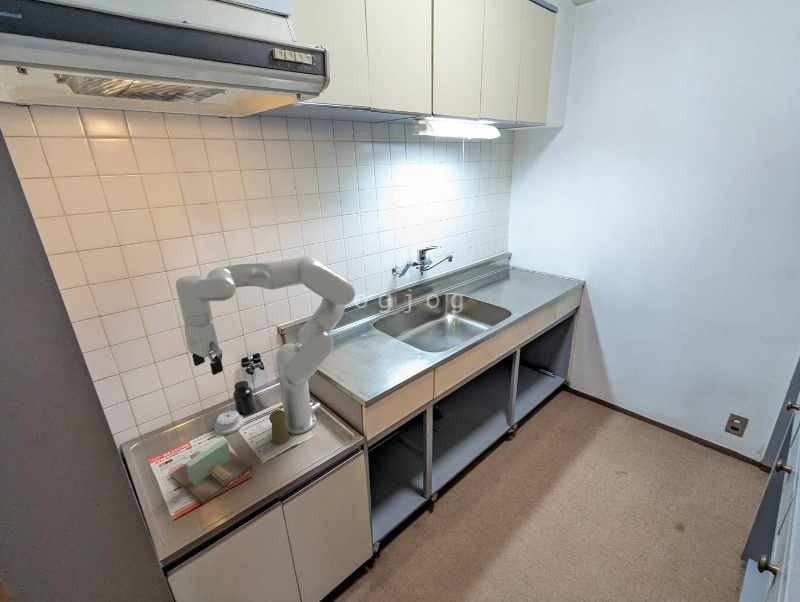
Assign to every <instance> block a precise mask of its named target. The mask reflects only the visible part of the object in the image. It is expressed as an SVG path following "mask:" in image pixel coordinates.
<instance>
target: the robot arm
mask: <svg viewBox="0 0 800 602" xmlns="http://www.w3.org/2000/svg"><path fill="white" fill-rule="evenodd" d="M298 285H304V286H305V287H306V288H308V289H309V290H311V291H312V292H313V293H315V294H317V295H318V296H320V297H321V299H322V300H321V303H320V305H319V306H318V307H317V309H316V310H315V311H314V313H313V314H312V315H311V317H310V318H308V320H307V321H306V322H305V323H304V324H303V325H302V327H300V328H299V330H298V334H297V338H298V340H299V342H300V344H301V345H302V346H299V344H296V343H292V342H291V343H290V342H289V343H285V344H283V345H281V346H280V347H279V348H278V350H277V352H276V353H275V365H276V369H277V370H276V371H277V373H278V379H279V380H278V381H279V385H280V395H281V400H282V401H281V402H282V408H283V409H282V411H283V412H284V413H285V420H284V421H285V424H286V427H287V430H288V433H289V435H298V434H303V433H306V432H308V431H309V430H311V429H312V428H314V426H315V425H316V423H317V416H316V414H315V411H316V410H318V409H319V408H320V407H321V406H322V405H321V403H319V402H316V403H315V404H314V403H313V402H311V396H310V388H309V379H311V377H312V376H313V375H314V374H315V373H316V372H317V370H318V369H320V367H321V366H322V365H323V364H324V363H325V361H326V360H327V359H328V357H330V354H331V353H332V351H333V348H334V339H333V337H332V334H331V332H332V331H333V330H334V328H335V327H336V326H337V324H338V323H339V322H340V320H341V319H342V317H343V316H344V315H343V314H344V313H345V308H346V306H348V305H350V304H351V303H352V302H353V301H354V299H355V295H356V292H355V291H356V290H355V287H354V286H353V284H351V283H350V282H349V281H348V280H346V279H345V278H344V277H342V276H341V275H339V274H338V273H335V272H333V271H332V270H330V269H329V268H328V267H327V266H325V265H324V264H323V263H321V262H320V261H318V260H317V259H315V258H314V257H312V256H301V257H296V258H295V257H294V258H291V259H284V260H278V261H271V262H258V263H256V262H255V263H238V264H233V265H227V266H221V267H217V268H214V269H212V270H210V271H209V272H208V274H207V276H206V278H204V277H203V276H200V275H188V276H186V275H185V276H183V277H180V278H177V280H176V281H175V289H176V294H177V297H178V302H179V307H180V309H181V315H182V319H183V323H184V335H185V341H186V347H187V350H188V352H190V353H191V354H192V355H191V356H192V361H193V365H194V366H195V367H197V366H199V365H202V364H204V363H205V362H206V358H208V359H209V361H210V363H209V364H210V370H211V373H212V374H211V375H213V376H215V375H217V374H220V373H221V372H223V371H224V368H223V362H222V361H223V350H222V349H221V348H220V346H219V345H220V344H219V340H218V336H217V333H216V329H215V326H214V323H213V320H214V317H213V313H212V309H211V303H210V302H223V301H227V300H230V299H232V298H233V297H234V296H235V294H236V290H237V289H238V288H242V287H244V288H245V287H258V288H262V289H265V290H266V289H267V290H271V291H272V290H279V289H283V288H288V287H294V286H298ZM214 355H215V356H214ZM213 356H214V357H213Z"/></svg>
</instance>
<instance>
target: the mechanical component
mask: <svg viewBox="0 0 800 602" xmlns="http://www.w3.org/2000/svg"><path fill="white" fill-rule="evenodd" d="M243 424H244V425H245V419H244V417H243V415H239V413H238V412H237V410H236V409H234V410H232V409H231V410H229V411H227V410H225V411H224V412H223V413H220V414H219V415H218V416H217V418H216V422H215V423H214V425H213V428H214V431H215V433H216V434H218V435H231V434H233V433H236V432H237V431H239V430H241V427H242V428H243V427H244V425H243Z"/></svg>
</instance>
